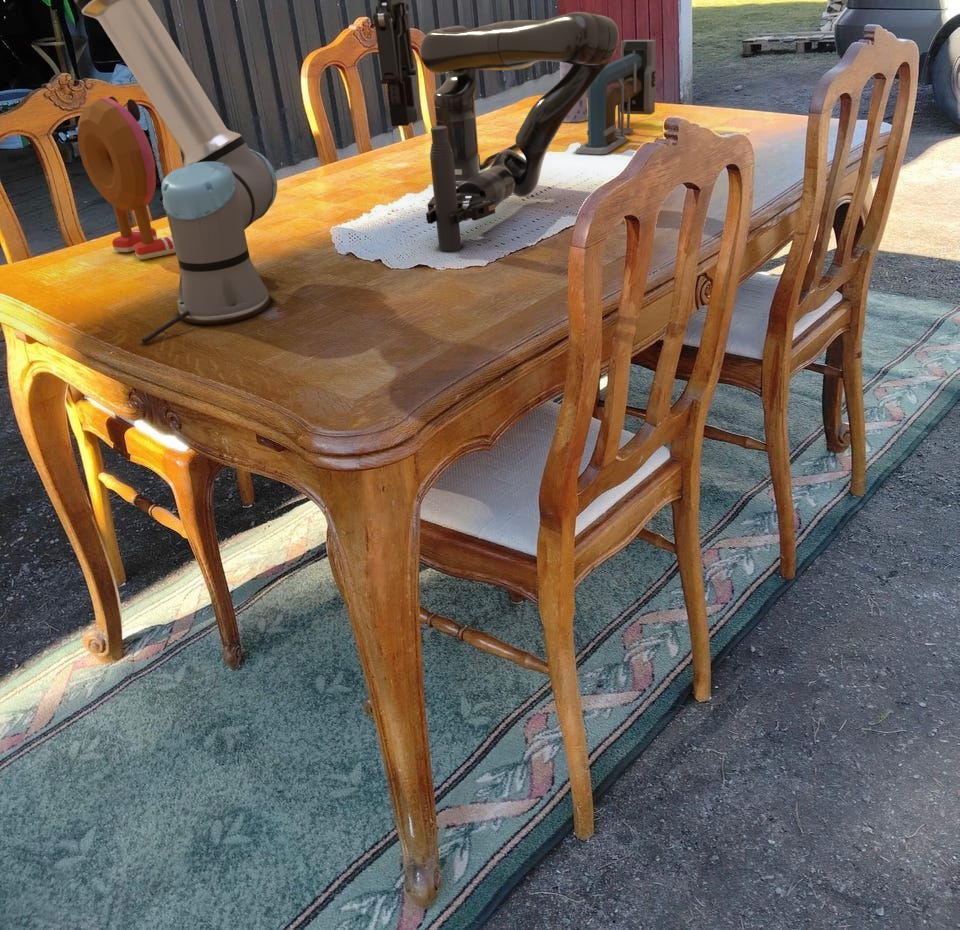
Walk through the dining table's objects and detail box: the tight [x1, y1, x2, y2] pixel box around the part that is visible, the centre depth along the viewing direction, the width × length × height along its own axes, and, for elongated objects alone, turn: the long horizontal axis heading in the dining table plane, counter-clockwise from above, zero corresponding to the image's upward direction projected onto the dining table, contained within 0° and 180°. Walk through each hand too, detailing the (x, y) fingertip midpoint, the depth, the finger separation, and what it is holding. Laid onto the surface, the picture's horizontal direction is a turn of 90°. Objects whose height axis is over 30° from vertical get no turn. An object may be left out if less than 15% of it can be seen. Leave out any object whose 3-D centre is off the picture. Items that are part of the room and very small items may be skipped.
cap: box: [389, 105, 418, 124], centre depth 157 cm, size 4×4×2 cm
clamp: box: [574, 39, 657, 155], centre depth 249 cm, size 35×9×21 cm, turn 151°
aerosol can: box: [559, 62, 588, 123], centre depth 273 cm, size 8×8×20 cm
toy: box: [77, 96, 176, 260], centre depth 191 cm, size 21×10×30 cm, turn 47°
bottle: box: [429, 125, 462, 252], centre depth 180 cm, size 4×4×22 cm
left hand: (403, 121), depth 158 cm, fingers closed on cap, 4 cm apart
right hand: (440, 219), depth 180 cm, fingers closed on bottle, 4 cm apart
